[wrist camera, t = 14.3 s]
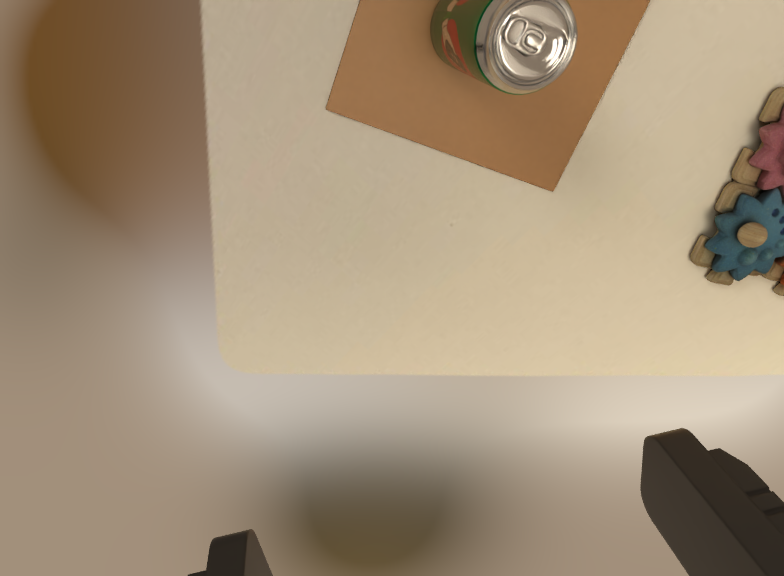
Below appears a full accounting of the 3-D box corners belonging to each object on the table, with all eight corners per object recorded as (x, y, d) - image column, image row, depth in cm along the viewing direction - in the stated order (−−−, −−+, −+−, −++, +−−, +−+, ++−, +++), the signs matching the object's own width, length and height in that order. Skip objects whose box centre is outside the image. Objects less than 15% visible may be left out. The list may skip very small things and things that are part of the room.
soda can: (480, 82, 38) (549, 116, 28) (414, 48, 37) (460, 70, 26) (518, 6, 37) (606, 12, 26) (450, -33, 35) (515, -43, 24)
